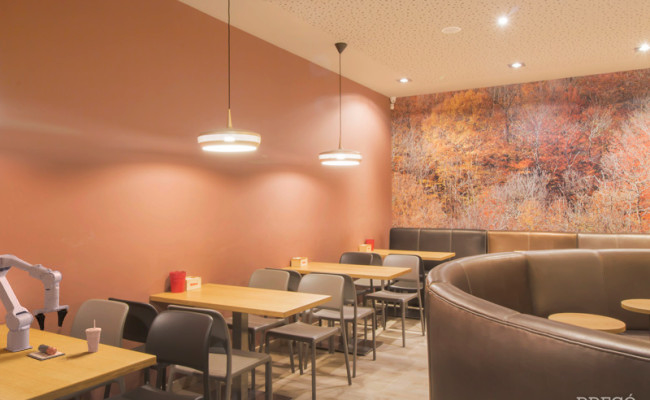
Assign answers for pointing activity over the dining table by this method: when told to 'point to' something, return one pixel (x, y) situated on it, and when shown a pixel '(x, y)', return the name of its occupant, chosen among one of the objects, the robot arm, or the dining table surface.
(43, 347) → the marker
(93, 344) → the smoothie
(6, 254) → the robot arm
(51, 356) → the notepad
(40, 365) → the dining table surface
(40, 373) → the dining table surface
